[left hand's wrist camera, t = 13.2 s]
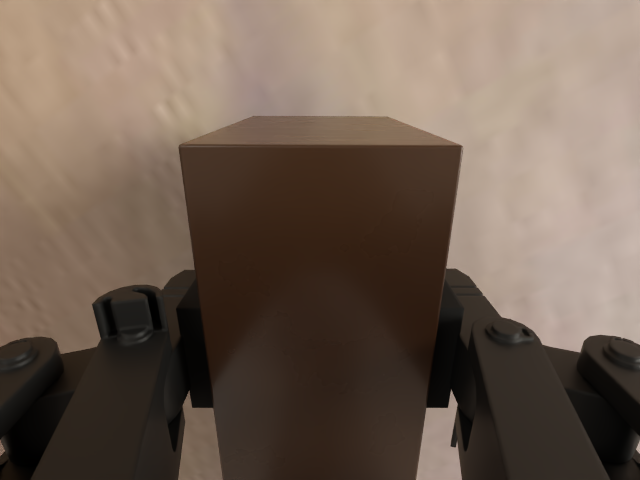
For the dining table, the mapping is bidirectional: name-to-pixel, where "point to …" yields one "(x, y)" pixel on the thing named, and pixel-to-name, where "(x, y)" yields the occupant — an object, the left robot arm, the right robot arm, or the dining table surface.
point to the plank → (320, 289)
